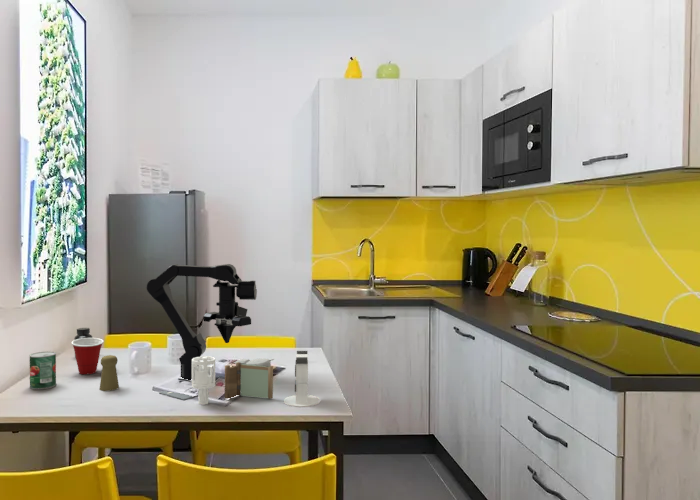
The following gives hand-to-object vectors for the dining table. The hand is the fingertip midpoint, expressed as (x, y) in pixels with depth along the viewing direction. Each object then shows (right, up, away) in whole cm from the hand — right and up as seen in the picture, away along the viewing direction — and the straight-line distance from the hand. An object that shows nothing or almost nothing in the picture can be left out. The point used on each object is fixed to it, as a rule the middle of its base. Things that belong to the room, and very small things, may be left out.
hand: (227, 342), depth 203 cm
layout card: (-11, -14, -18) cm, 25 cm away
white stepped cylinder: (-1, -14, -27) cm, 31 cm away
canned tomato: (-60, -13, -11) cm, 62 cm away
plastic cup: (-53, -12, +6) cm, 55 cm away
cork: (-37, -13, -13) cm, 41 cm away
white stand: (+29, -15, -24) cm, 40 cm away
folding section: (+14, -14, -21) cm, 29 cm away
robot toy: (+6, -13, +12) cm, 19 cm away
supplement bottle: (-65, -11, +29) cm, 72 cm away
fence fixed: (+7, -14, -22) cm, 27 cm away
